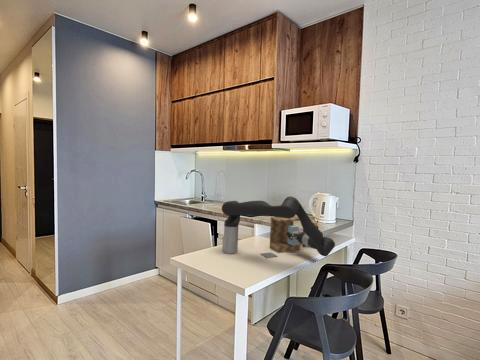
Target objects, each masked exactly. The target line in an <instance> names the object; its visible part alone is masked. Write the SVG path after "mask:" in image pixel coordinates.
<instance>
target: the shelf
mask: <svg viewBox="0 0 480 360" xmlns="http://www.w3.org/2000/svg"><path fill="white" fill-rule="evenodd" d="M294 222H300V220H299V218H298V216H294V217H293V218H281V217H273V216H270V228H269V229H270V230H269V231H270V232H269V249H271V250H273V252H276V253H277V254H281V253H288V252H296V251H301V250H302V244H301V243H299V242H298V245H290V244H288V243H287V242H288V236H287V232H288V226H289V225H294Z"/></svg>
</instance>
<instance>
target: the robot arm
mask: <svg viewBox="0 0 480 360" xmlns="http://www.w3.org/2000/svg"><path fill="white" fill-rule="evenodd" d="M221 211H222V213H223V214H224V215H225V216H228V217H227V218H226V220H225V221H224V227H223V236H222V244H221V246H222V249H221V251H222V252H223V253H224V254H227V255H228V254H231V255H232V254H237V253H238V252H239V251H238V249H239V248H238V247H239V223H240V220H241V216H242V215H243V216H249V217H281V218H293V217H297V218H299V220H300V221H299V222H300V225H301V228H302V232H299V233H298V234H296V233H293V234H292V233H289V232H287V236H288V238H290V239H291V240H293V239H296V240H298V243H299V244H301V245H302V246H303V245H305V246H308V247H307V248H309V247H311V249H315V250H316V251H317V252H318V255H321V256H323V257H328V256H329V255H330V253H331V252H332V251H333V249H334V248H335V246H336V243H335V240H334V239H332V238H331V237H326V236H324V233H322V231H321V230H320V228H319V227H318V228H317V227H316V226H315V225H314V224H313V221H312V219H311V218H310V216H309V215H308V214H307V212H306V211H305V208H303V206H302V204H301V202H300V201H299V200H298V199H297V198H296V197H294V196H287V197H285V199H284V200H283V201H282V203H281V204H280V205H271V204H269V203H268V202H266V201H265V200H250V201H243V202H239V201H237V200H229V201H226V202H224V203H223V204H222V205H221ZM303 230H304V232H303ZM294 235H295V237H294Z"/></svg>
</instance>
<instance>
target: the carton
mask: <svg viewBox="0 0 480 360" xmlns="http://www.w3.org/2000/svg"><path fill="white" fill-rule="evenodd" d="M288 232H289V233H292V234H293V233H296V234H298V233H300V227H299V226H298V225H295V224H293V225H289V226H288ZM294 237H295V235H294ZM287 243H288V244H290V245H298V243H299V241H298V240H296V239H293V240H291V239H290V238H288V242H287Z"/></svg>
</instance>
